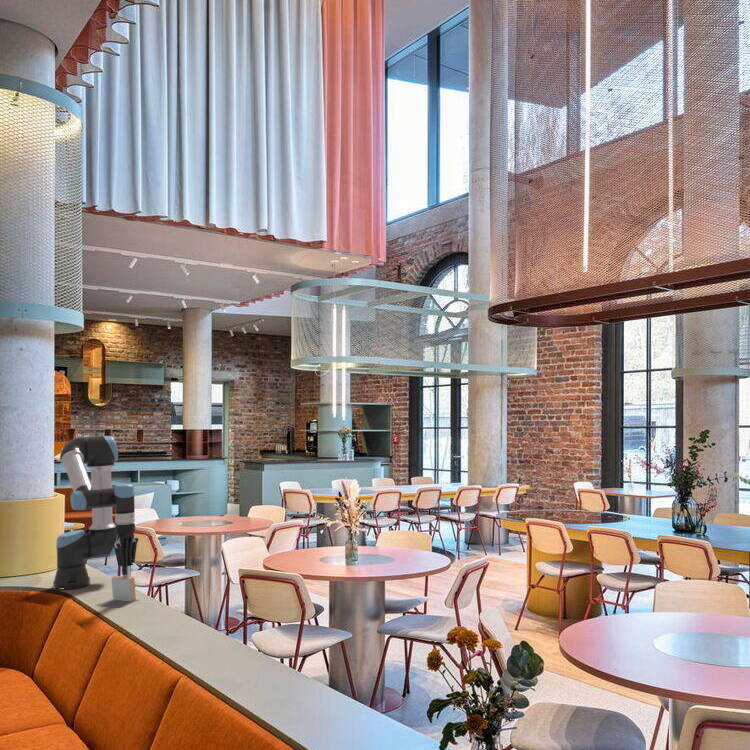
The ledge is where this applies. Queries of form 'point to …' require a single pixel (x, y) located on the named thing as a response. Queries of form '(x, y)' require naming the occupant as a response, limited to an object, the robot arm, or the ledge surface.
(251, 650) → the ledge surface
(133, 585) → the block
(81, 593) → the ledge surface
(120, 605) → the mat
